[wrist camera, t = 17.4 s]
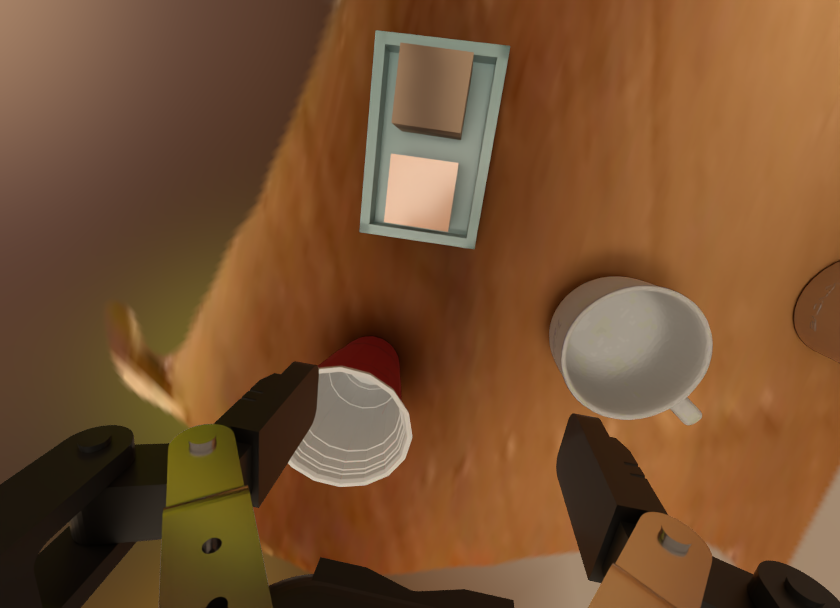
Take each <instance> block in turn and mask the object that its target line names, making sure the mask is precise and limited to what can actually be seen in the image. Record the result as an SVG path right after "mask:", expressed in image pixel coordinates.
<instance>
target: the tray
mask: <svg viewBox="0 0 840 608" xmlns="http://www.w3.org/2000/svg"><path fill="white" fill-rule="evenodd" d="M400 42H401V43H409V44H416V45H423V46H431V47H438V48H445V49H453V50H460V51H467V52H474V57H473V69H472V77H471V83H470V89H469V95H468V101H467V107H466V113H465V119H464V125H463V131H462V137H461V140H457V139H450V138H444V137H437V136H430V135H424V134H417V133H410V132H403V131H401V130H400V129H398V128H397V127H396V126H395V125H393V124H392V123H391V122H392V113H393V104H394V95H395V86H396V77H397V68H398V59H399V50H400ZM509 51H510V46H506V45H497V44H488V43H480V42H471V41H463V40H454V39H446V38H437V37H428V36H420V35H411V34H403V33H394V32H386V31H377V30H376V32H375V45H374V57H373V70H372V82H371V95H370V107H369V119H368V132H367V144H366V157H365V169H364V181H363V194H362V206H361V219H360V231H359V232H362V233H369V234H376V235H382V236H389V237H396V238H403V239H409V240H416V241H423V242H429V243H436V244H443V245H450V246H456V247H463V248H470V249H474V248H475V243H476V237H477V231H478V226H479V220H480V214H481V209H482V203H483V197H484V192H485V186H486V180H487V175H488V169H489V164H490V158H491V152H492V147H493V141H494V135H495V130H496V124H497V118H498V113H499V107H500V101H501V96H502V90H503V85H504V79H505V73H506V68H507V62H508V56H509ZM391 154H398V155H405V156H413V157H420V158H427V159H434V160H441V161H448V162H456V163H459V171H458V177H457V183H456V190H455V196H454V203H453V209H452V215H451V222H450V226H449V230H448V232H446V231H439V230H432V229H426V228H419V227H412V226H406V225H399V224H392V223H386V222H384V216H385V207H386V197H387V187H388V177H389V168H390V158H391Z"/></svg>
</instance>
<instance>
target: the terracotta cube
mask: <svg viewBox="0 0 840 608" xmlns="http://www.w3.org/2000/svg"><path fill="white" fill-rule="evenodd" d="M458 171H459V163H456V162H448V161H441V160H434V159H427V158H420V157H413V156H405V155H398V154H391V158H390V168H389V177H388V187H387V197H386V207H385V216H384V222H386V223H392V224H399V225H406V226H412V227H419V228H426V229H432V230H439V231H446V232H448V230H449V226H450V222H451V215H452V209H453V203H454V196H455V190H456V183H457V177H458Z"/></svg>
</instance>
